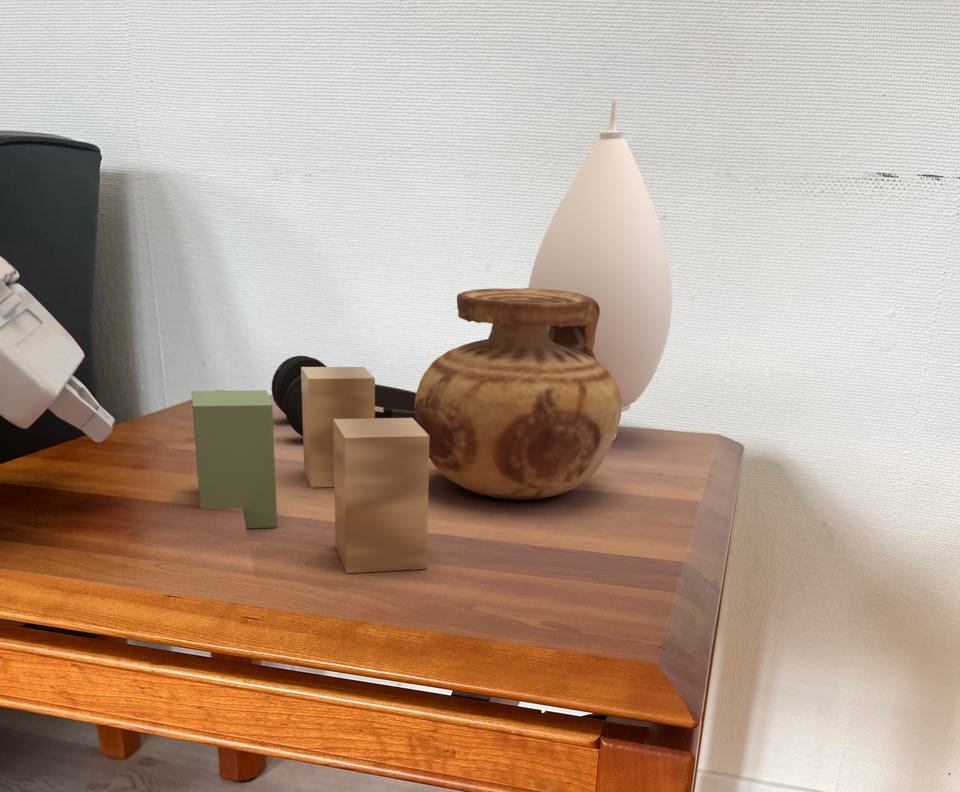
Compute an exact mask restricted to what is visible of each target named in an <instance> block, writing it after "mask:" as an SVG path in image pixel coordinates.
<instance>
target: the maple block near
mask: <svg viewBox="0 0 960 792" xmlns="http://www.w3.org/2000/svg"><path fill="white" fill-rule="evenodd" d="M333 435H334V487H333V488H334V530H335V531H334V532H335V533H334V534H335V548H336V551H337V553H338V556H339V559H340V561H341V563H342V566H343V568H344V570H345V573H346V574H357V573H358V574H359V573H361V574H362V573H377V572H378V573H380V572H398V571H413V570H414V571H415V570H417V571H418V570H427V569H428V536H429V535H428V534H429V533H428V532H429V530H428V529H429V528H428V526H429V482H430V481H429V480H430V478H429V477H430V458H429V435H428V434H427V433H426V432H425V431H424V430H423V429H422V428H421V426H420V425H419V424H418V423H417V422H416V421H415V420H414V419H413V418H369V419H333Z"/></svg>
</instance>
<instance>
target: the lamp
mask: <svg viewBox="0 0 960 792" xmlns="http://www.w3.org/2000/svg"><path fill="white" fill-rule="evenodd" d="M617 102H618V101H617V98H616V97H614V98H613V100H612V105H611V112H610V118H609V125H608V131H606V130H605V131H599V136H598V137H599V139H598V140H597V142H596V144H595V145H594V147H593V148H592V149H591V151H590V153H589V154H588V156H587V157H586V160H584V162H583V164H582V165H581V167H580V169H579V171H578V172H577V173H576V175H575V177H574V179H573V180H572V182H571V183H570V185H569V186H568V189H567V191H566V193H565V194H564V196H563V198H562V199H561V201H560V203H559V205H558V207H557V208H556V211H555V213H554V214H553V217H552V218H551V220H550V223H549V225H548V227H547V229H546V232H545V234H544V235H543V238H542V241H541V244H540V245H539V248H538V251H537V253H536V256H535V258H534V259H535V260H534V263H533V266H532V269H531V273H530V277H529V283H528V287H527V288H533V289H546V290H557V291H567V292H573V293H578V294H581V295H585V296H588V297H591V298H592V299H594V300H595V301H596V302H597V303H598V304H599V307H600V316H599V319H598V323H597V327H596V332H595V343H594V347H593V352H594V354H595V358H596V360H597V362H599V363H600V364H601V365H602V366H603V367H604V368H605V369H606V370H607V371H608V372H609V373H610V374H611V376H612V377H613V378H614V380H615V381H616V384H617V386H618V388H619V391H620V394H621V400H622V411H621V413H623V412H627V411H629V410H630V409H631V404H633V403H635V402H636V401H638V399H639V398H640V397H641V396H642V395H643V393H644V392H645V391H646V389H647V388H648V386H649V385H650V383H651V381H652V379H653V377H654V375H655V373H656V372H657V369H658V367H659V365H660V362H661V360H662V357H663V355H664V352H665V348H666V345H667V342H668V337H669V333H670V327H671V320H672V313H673V281H672V272H671V265H670V260H669V259H670V258H669V254H668V250H667V245H666V242H665V239H664V238H665V237H664V235H663V230H662V228H661V224H660V222H659V218H658V214H657V211H656V209H655V207H654V204H653V202H652V199H651V196H650V193H649V191H648V188H647V186H646V183H645V181H644V178H643V176H642V173H641V171H640V169H639V166H638V164H637V162H636V160H635V157H634V154H633V152H632V151H631V149H630V147H629V144H628V142H627V140H626V139H625V138H624V135H625V133H626V131H617V106H618V105H617ZM548 331H549V326H548ZM616 435H617V434H616ZM616 435H615V436H616Z"/></svg>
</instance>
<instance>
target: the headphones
mask: <svg viewBox="0 0 960 792" xmlns="http://www.w3.org/2000/svg"><path fill="white" fill-rule="evenodd" d="M301 367H328V366H327V365H326V364H324V363H323V362H322V361H321V360H320V359H317V358H315V357H310V356H307V355H296V356H291V357H288V358H287V359H286V360H284V361H283V362H282V363H281V364H280V365H279V366H278V367H277V368H276V370H275V371H274V374H273V376H272V380H271V396H272V400H273V401H274V403H275V405H276V406H277V408H278V409H279V410H280V411H281V412H282V413H283V414H284V415H285V417H286V420H287V422H288V424H289V425H290V427H291V428H292V430H293V431H294V432H296V433H297V434H298V435H299V436H300V437H303V415H302V383H301ZM416 393H417V391H411V390H407V389H404V388H403V389H402V388H397V387H393V386H388V385H382V384H376V383H375V407H377V408H382V409H383V410H382V411H376V410H375V418H413V419H414V420H415V421H416V417H415V398H416Z"/></svg>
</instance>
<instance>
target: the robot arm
mask: <svg viewBox="0 0 960 792" xmlns="http://www.w3.org/2000/svg"><path fill="white" fill-rule="evenodd" d="M19 278H20V273H19V272H18V271H17V270H16V268H15V267H14V266H12V264H10V263H9V262H8V261H7V260H6V259H5V258H4V257H3V256H1V255H0V416H1V417H2V418H3V419H5V420H6V421H8V422H9V423H11V424H13V425H15V426H16V427H18V428H21V429H24V430H25V429H28V428H30V427H31V426H32V425H33V424H34V423H35V422H36V421H37V420H38V419H39V418H40V417H41V416H42V415H43V414H44V413H45V412H46V411H47V409H48V410H49V411H50V412H51V413H52V414H54V415H55V416H56V417H57V418H59V419H61V420H63V421H64V422H66V423H68V424H69V425H71V426H73V427H75V428H76V429H78V430H80V431H81V432H82V433H84V434H85V435H86V436H87V437H88V438H89V439H90V440H91V441H93V442H94V443H98V444H99V443H103V442H104V441H105V440H106V439H107V438H108V436H110V435H111V434H112V432H113V429H114V427H115V423H116V420H115V418H114V417H113V416H112V415H111V414H110V413H109V412H108V411H106V410H105V408H104V407H102V406H101V405H100V404H99V402H98V401H97V400H96V398H95V397H94V396H93V395H92V393H91V392H90V390H89V389H88V388H87V387H86V386H85V384H83V383H82V382H81V381H80V380H79V379H78V378H77V377H76V376H74V373H75V372H76V371H77V369H78V368H79V366H80V365H81V363H82V362H83V361H84V359H85V353H84V351H83V349H82V348H81V347H80V345H79V344H78V343H77V341H76V340H75V339H74V338H73V336H72V335H71V334H70V333H69V332H68V331H67V330H66V329H65V328H64V327H63V325H62V324H61V323H59V321H58V320H57V319H56V318H55V317H54V316H53V315H52V314H51V313H50V312H49V311H48V310H47V309H46V308H45V306H44V305H42V304H41V302H39V301H38V299H36V298H35V296H34V295H33V294H32V293H30V292H29V291H28V290H27V288H25V287H24V286H23V285H22V284H20V283H17V282H16V281H18V279H19Z"/></svg>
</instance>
